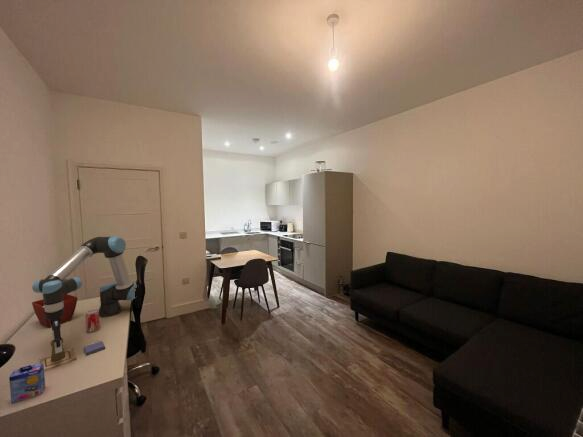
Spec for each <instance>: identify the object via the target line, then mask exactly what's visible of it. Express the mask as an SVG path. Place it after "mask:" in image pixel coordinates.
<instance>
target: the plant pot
mask: <svg viewBox="0 0 583 437" xmlns="http://www.w3.org/2000/svg"><path fill="white" fill-rule="evenodd" d="M63 303H64V307H63V308H64V315H63V316H61V317H59V318H60V320H61V323H60V325H61V324H64V323H67V322H69V321H70V322H71V320H72V319H73V317H74V313H75V311H76V307H77V303H78V297H77V296H74V295H72V294H69V293H68V294H66V295H63ZM31 305H32V308H33V311H34V314H35V316H36V317H37V320H38V321H39V323H40V324H41V325H43V326H45V327H46V328H52V326H51V323H50V321H51V320H52V319H50V320H47V319H45V309H44V308H43V306H44V300H43V299H39V300H36V301H33V302H31Z"/></svg>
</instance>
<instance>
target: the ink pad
mask: <svg viewBox="0 0 583 437" xmlns="http://www.w3.org/2000/svg"><path fill="white" fill-rule="evenodd" d="M82 349H83V352H84V354H85V357H87V356H90V355H93V354H95V353H99V352H101V351H104V350H106V346H105V343H104V342H103V341H102V340H101V341H98V342H94V343H91V344H89V345H86V346H85V345H84V347H82Z"/></svg>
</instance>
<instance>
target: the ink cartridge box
mask: <svg viewBox="0 0 583 437" xmlns="http://www.w3.org/2000/svg"><path fill="white" fill-rule="evenodd" d="M45 377H46V376H45V371H44V364H43V363H41V364H40V363H38V364H33V365H32V364H29V365H25V366H22V367H19V368H18V369H16V370H15V369H14V370H13V371H12V373H10V375H9V377H8V379H9V390H10V402H11V404H13V403H16V402H21V401H23V400H26V399H30V398H34V397H36V396H40V395H42V394H43V393H44V391H45V389H46V380H45V379H46V378H45Z"/></svg>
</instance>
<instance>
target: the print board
mask: <svg viewBox="0 0 583 437" xmlns="http://www.w3.org/2000/svg"><path fill="white" fill-rule="evenodd" d="M64 352H65V355H66V357H65V358H64V359H62V360H60V361H56V362H51V354H50V355H48V356H45V357H41V358H40V359H39V364H41V363H43V364H44V372H46V371H50V370H52V369H55V368H58V367H60V366H63V365H66V364H68V363H69V364H70V363H72V362H75V361H77V355H76V352H75V349H74V347H73V348H69V349H66V350H64Z"/></svg>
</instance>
